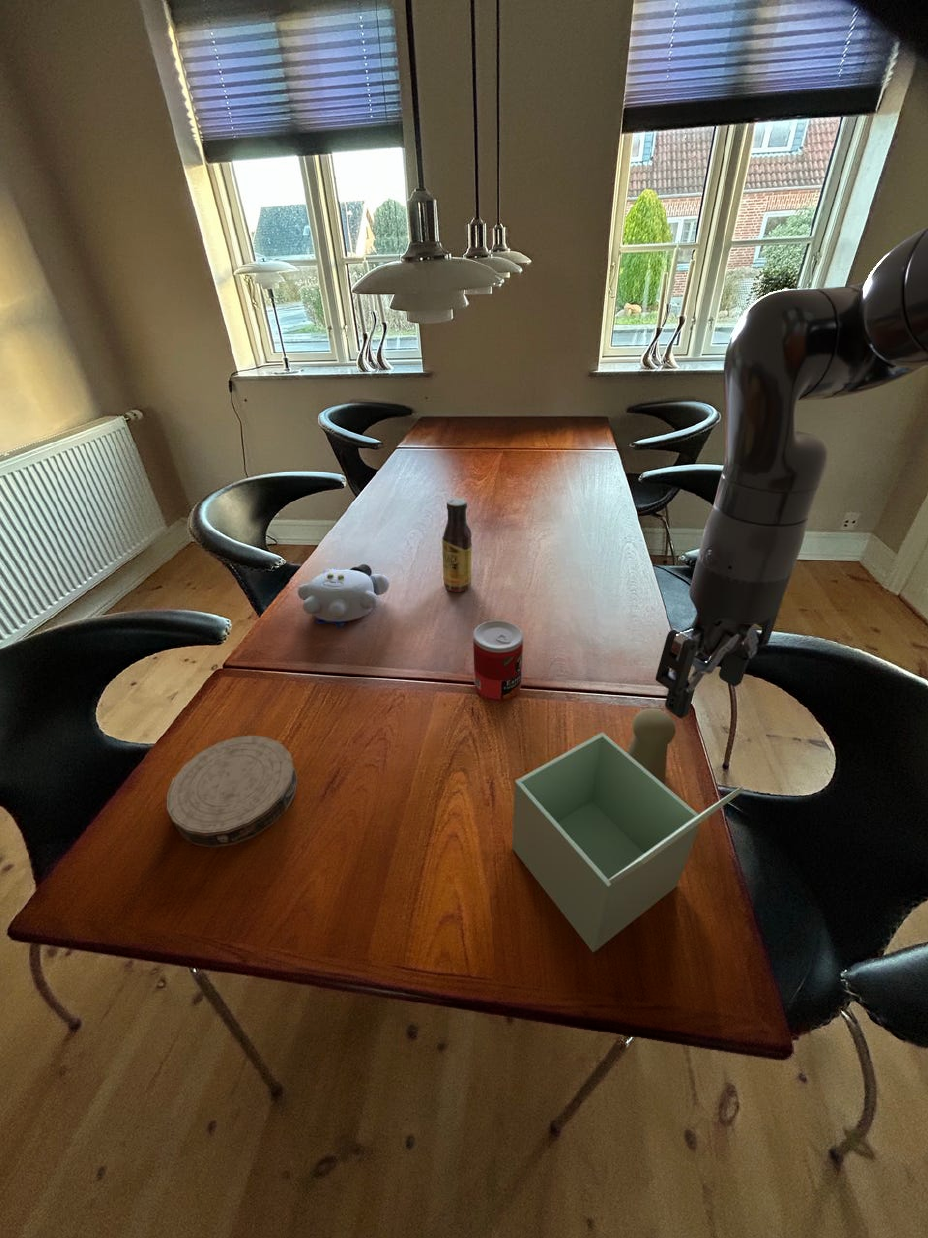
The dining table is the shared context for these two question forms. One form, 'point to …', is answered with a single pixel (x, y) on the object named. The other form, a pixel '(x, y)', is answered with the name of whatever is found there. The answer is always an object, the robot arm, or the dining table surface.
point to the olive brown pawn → (652, 741)
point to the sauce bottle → (457, 548)
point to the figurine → (342, 594)
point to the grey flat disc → (232, 791)
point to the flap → (675, 836)
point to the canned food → (497, 660)
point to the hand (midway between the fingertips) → (703, 696)
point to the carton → (599, 836)
